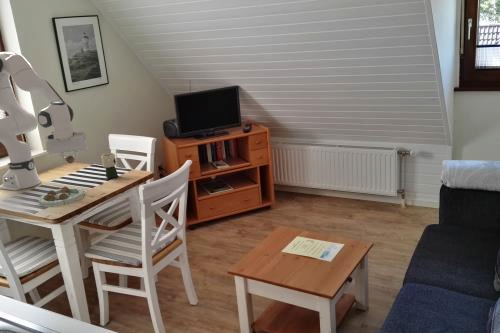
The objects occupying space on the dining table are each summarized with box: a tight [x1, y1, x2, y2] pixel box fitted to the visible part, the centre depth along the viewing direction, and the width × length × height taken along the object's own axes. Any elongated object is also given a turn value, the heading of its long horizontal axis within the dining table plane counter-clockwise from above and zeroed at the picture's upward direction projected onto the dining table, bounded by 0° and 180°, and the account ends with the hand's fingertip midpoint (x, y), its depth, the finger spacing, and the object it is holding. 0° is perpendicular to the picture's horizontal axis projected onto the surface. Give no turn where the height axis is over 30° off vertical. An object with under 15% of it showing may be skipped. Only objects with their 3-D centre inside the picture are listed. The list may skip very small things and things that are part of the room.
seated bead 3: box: [59, 193, 68, 200], centre depth 248 cm, size 4×4×4 cm
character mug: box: [100, 152, 119, 179], centre depth 280 cm, size 11×7×13 cm, turn 15°
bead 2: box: [65, 155, 75, 164], centre depth 263 cm, size 4×4×4 cm
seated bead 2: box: [46, 194, 55, 201], centre depth 249 cm, size 4×4×4 cm
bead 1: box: [60, 186, 70, 193], centre depth 259 cm, size 4×4×4 cm
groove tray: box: [38, 187, 85, 207], centre depth 254 cm, size 21×21×3 cm
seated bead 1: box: [46, 189, 56, 196], centre depth 255 cm, size 4×4×4 cm
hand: (70, 159), depth 263 cm, fingers closed on bead 2, 4 cm apart
